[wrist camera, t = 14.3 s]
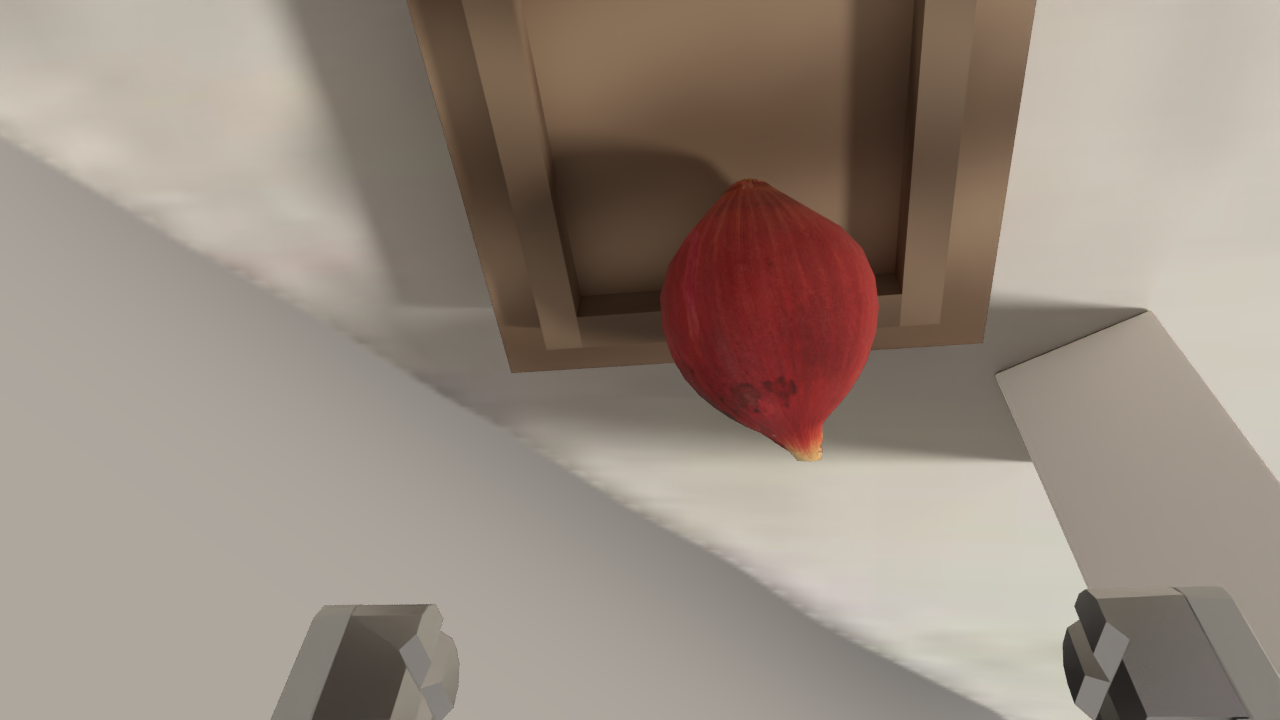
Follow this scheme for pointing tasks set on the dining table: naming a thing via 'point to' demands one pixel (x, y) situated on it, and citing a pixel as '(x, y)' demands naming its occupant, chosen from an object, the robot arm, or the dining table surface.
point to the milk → (1150, 470)
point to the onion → (770, 313)
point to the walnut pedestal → (722, 150)
